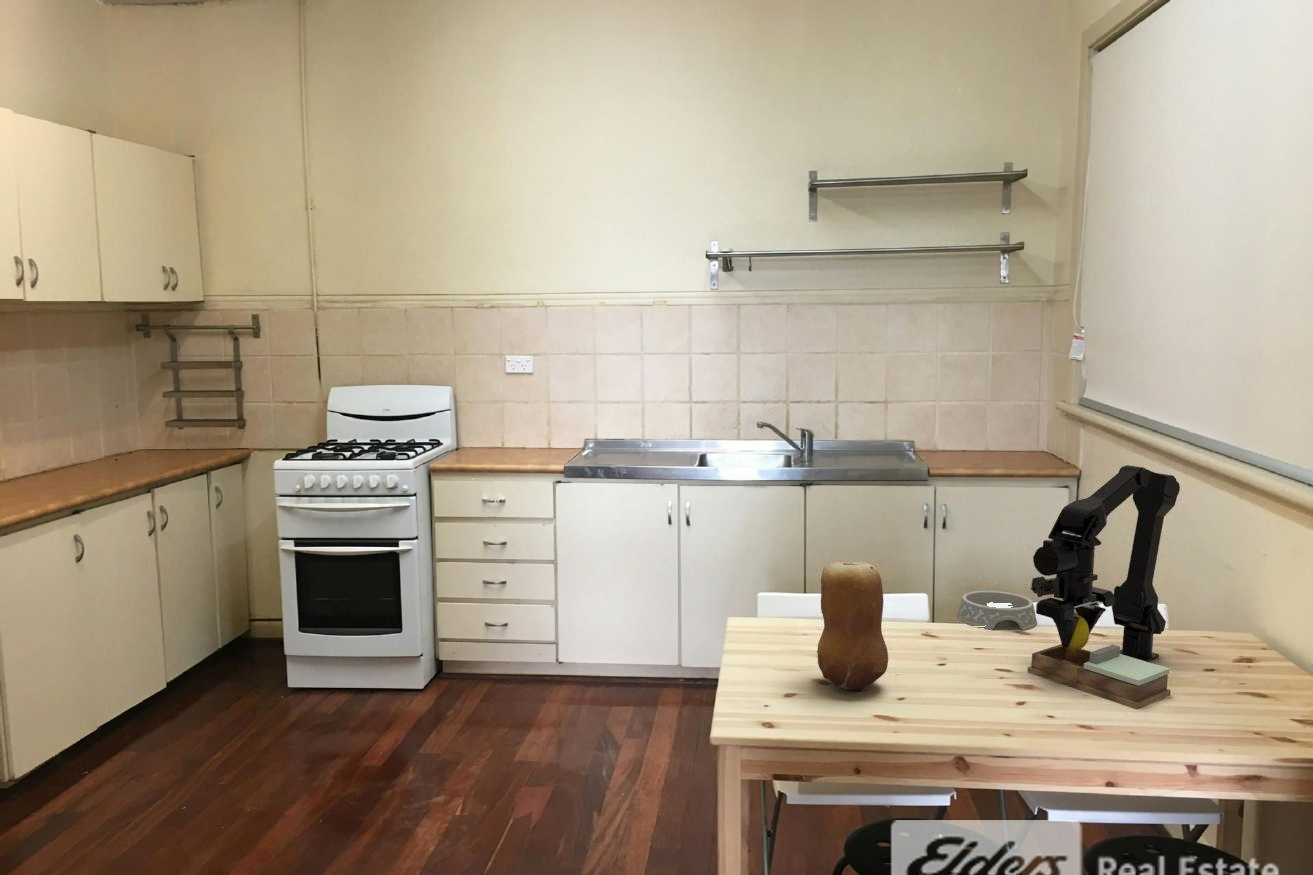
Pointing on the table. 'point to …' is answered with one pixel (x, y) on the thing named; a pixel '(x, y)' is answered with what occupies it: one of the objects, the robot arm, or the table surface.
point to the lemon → (1079, 635)
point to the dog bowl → (996, 610)
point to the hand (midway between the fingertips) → (1073, 644)
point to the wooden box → (1094, 677)
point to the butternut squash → (852, 625)
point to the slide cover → (1123, 666)
